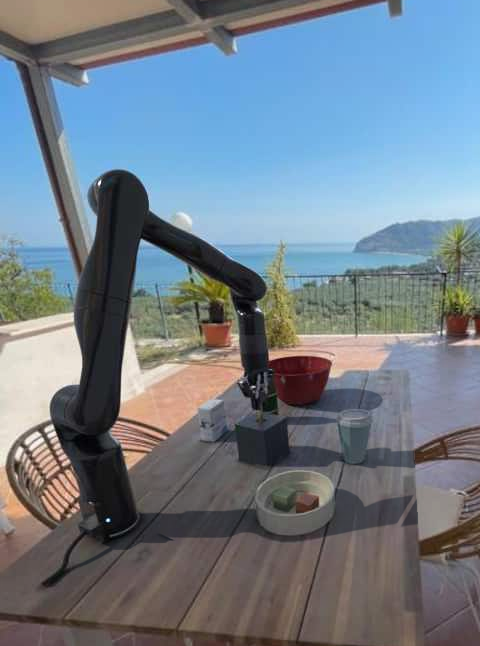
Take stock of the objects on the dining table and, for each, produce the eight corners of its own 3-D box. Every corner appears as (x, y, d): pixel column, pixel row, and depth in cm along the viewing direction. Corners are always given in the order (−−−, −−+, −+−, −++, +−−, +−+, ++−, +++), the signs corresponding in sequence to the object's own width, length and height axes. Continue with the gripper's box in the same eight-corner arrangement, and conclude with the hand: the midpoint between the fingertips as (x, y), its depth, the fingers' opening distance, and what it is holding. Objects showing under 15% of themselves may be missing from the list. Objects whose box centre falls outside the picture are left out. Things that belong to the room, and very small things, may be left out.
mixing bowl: (253, 410, 151) (249, 372, 146) (278, 386, 178) (275, 353, 172) (324, 414, 148) (323, 375, 142) (338, 389, 174) (338, 356, 168)
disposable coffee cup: (329, 458, 117) (328, 412, 111) (355, 446, 124) (354, 402, 118) (354, 471, 110) (354, 423, 104) (379, 458, 117) (380, 412, 111)
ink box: (215, 429, 135) (210, 398, 131) (228, 431, 134) (224, 399, 130) (201, 440, 127) (195, 407, 123) (215, 442, 126) (210, 409, 122)
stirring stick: (265, 459, 116) (259, 393, 108) (258, 457, 117) (251, 392, 109) (270, 455, 118) (264, 390, 111) (264, 453, 119) (257, 389, 112)
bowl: (308, 548, 81) (306, 525, 79) (240, 523, 89) (237, 501, 87) (348, 501, 97) (347, 480, 95) (287, 483, 104) (286, 464, 102)
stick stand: (267, 469, 111) (264, 431, 107) (239, 460, 115) (234, 424, 111) (289, 452, 120) (286, 417, 116) (262, 445, 124) (258, 411, 120)
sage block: (287, 512, 91) (286, 498, 90) (273, 508, 93) (272, 494, 91) (297, 503, 95) (296, 489, 93) (283, 499, 96) (282, 485, 95)
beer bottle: (253, 423, 140) (246, 358, 131) (264, 415, 147) (258, 353, 138) (272, 426, 138) (266, 360, 129) (282, 417, 145) (278, 355, 136)
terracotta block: (310, 520, 89) (309, 505, 87) (295, 515, 90) (294, 501, 89) (319, 510, 92) (319, 496, 91) (305, 506, 94) (304, 492, 92)
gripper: (259, 342, 113) (265, 398, 119) (225, 353, 101) (232, 414, 107) (280, 345, 110) (285, 402, 116) (247, 356, 98) (254, 419, 104)
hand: (259, 407), depth 112 cm, fingers closed on stirring stick, 2 cm apart
